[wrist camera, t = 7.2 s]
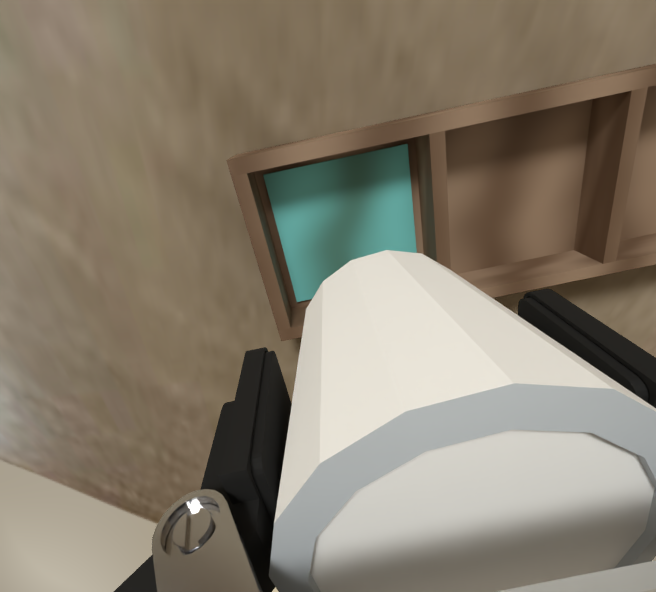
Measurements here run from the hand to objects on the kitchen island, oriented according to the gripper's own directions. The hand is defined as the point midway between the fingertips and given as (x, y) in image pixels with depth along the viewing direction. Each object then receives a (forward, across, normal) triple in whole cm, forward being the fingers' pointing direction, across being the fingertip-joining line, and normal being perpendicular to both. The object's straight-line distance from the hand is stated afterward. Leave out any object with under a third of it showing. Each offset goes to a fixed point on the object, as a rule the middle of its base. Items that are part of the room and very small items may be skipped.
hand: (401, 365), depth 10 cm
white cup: (+2, 0, 0) cm, 2 cm away
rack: (+14, -10, 0) cm, 18 cm away
